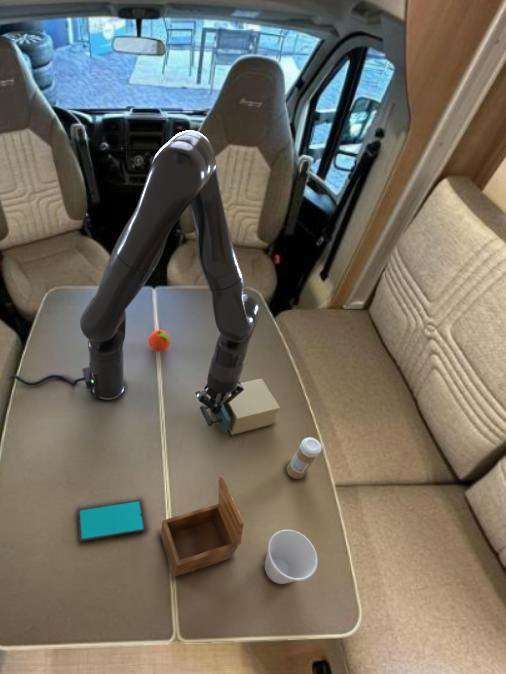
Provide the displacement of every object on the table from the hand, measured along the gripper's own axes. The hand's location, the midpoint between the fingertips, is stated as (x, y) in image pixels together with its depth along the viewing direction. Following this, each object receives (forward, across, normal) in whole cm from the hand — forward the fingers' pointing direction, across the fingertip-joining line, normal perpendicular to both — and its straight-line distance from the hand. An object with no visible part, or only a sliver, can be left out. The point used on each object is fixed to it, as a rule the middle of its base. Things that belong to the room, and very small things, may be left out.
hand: (214, 411), depth 112 cm
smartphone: (+6, +34, +19) cm, 39 cm away
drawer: (+5, -5, 0) cm, 7 cm away
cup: (+6, 0, +40) cm, 40 cm away
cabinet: (+6, -10, 0) cm, 12 cm away
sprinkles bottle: (+6, -15, +20) cm, 26 cm away
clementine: (+6, +5, -31) cm, 32 cm away
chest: (+6, +17, +30) cm, 35 cm away
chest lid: (-10, +11, +30) cm, 34 cm away
